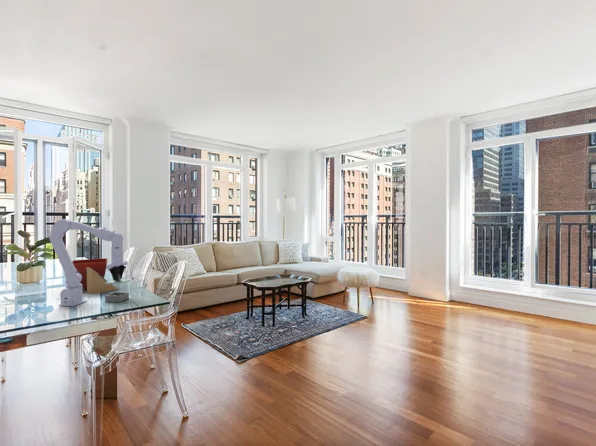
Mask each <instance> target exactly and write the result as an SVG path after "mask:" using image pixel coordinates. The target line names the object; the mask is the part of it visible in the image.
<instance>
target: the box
mask: <svg viewBox="0 0 596 446" xmlns="http://www.w3.org/2000/svg"><path fill="white" fill-rule="evenodd" d="M129 299H130V292H127V291H114V292H111V293H108V294H106V295H104V301H105V302H104V303H118V304H119V303H121V302H125V301H127V300H129Z"/></svg>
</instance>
